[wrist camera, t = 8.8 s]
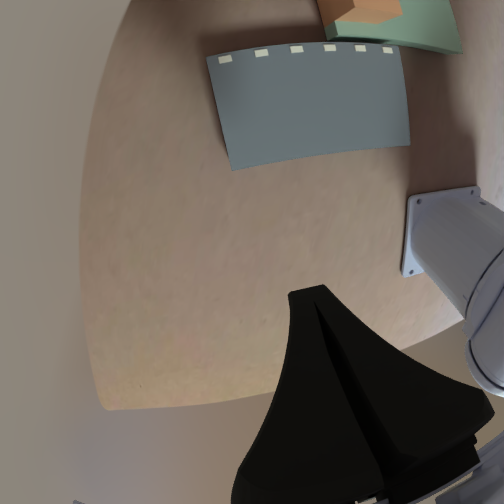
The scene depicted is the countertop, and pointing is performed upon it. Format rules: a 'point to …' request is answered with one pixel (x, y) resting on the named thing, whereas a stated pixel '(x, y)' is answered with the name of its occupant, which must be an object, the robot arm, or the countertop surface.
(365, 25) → the pale green flat slab
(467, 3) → the countertop surface
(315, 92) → the white-dotted slate slab
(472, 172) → the countertop surface
